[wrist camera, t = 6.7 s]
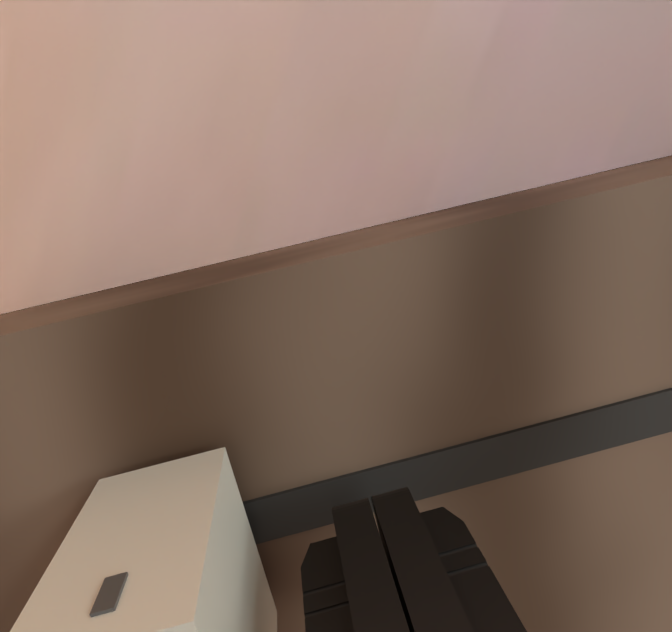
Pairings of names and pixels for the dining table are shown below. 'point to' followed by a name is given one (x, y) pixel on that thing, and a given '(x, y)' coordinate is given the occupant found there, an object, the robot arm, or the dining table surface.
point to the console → (385, 395)
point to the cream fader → (157, 557)
